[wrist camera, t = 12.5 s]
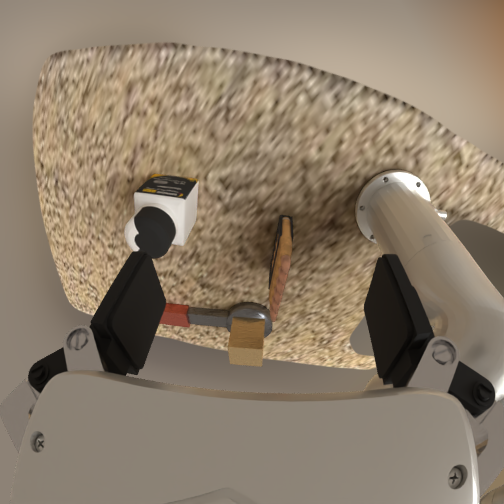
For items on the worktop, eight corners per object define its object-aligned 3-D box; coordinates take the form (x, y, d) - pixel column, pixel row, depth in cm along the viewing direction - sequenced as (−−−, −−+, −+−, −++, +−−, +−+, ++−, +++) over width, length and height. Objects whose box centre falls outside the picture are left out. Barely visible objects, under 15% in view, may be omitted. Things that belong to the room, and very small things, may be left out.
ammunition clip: (280, 214, 41) (279, 266, 31) (292, 216, 41) (295, 269, 31) (269, 269, 47) (265, 325, 37) (280, 271, 47) (278, 326, 37)
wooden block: (265, 318, 51) (262, 349, 45) (264, 337, 54) (261, 366, 49) (233, 316, 51) (227, 346, 46) (234, 335, 55) (230, 363, 49)
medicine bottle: (199, 178, 38) (171, 220, 29) (196, 220, 42) (172, 270, 33) (153, 172, 38) (114, 211, 28) (154, 213, 42) (121, 259, 33)
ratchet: (273, 303, 52) (272, 328, 47) (271, 331, 57) (270, 355, 52) (146, 293, 54) (135, 315, 49) (156, 320, 59) (148, 342, 54)
